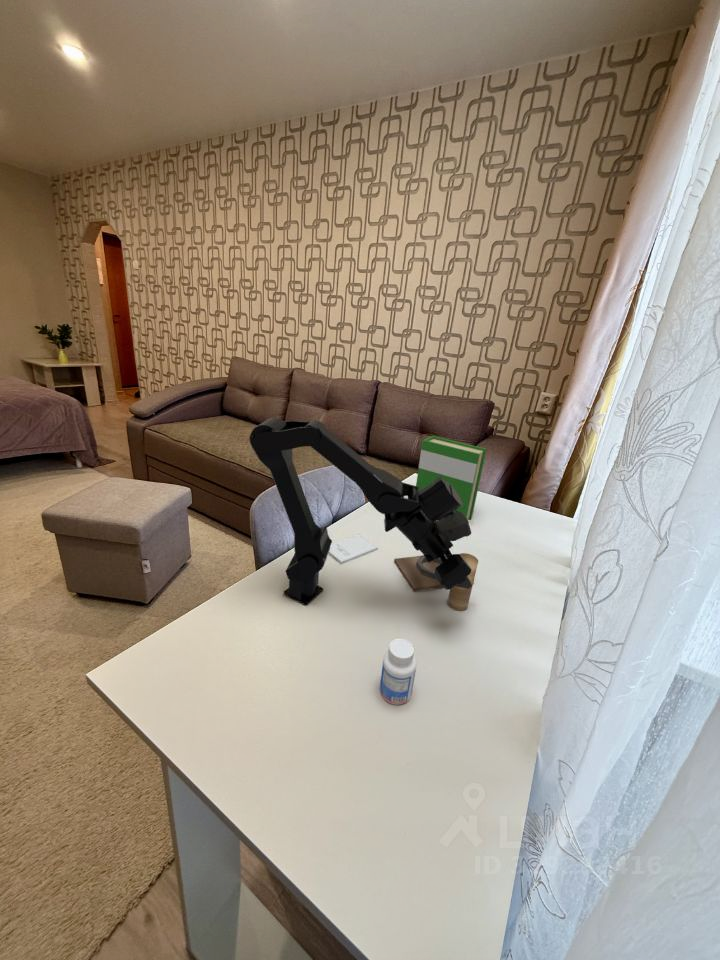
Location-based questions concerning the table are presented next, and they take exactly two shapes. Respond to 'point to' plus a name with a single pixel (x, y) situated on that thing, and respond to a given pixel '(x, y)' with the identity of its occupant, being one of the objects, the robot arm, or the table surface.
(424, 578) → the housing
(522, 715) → the table surface
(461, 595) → the light brown tall cylinder
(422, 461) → the hardback book
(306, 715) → the table surface
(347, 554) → the external hard drive
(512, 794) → the table surface
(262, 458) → the robot arm
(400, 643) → the pill bottle
